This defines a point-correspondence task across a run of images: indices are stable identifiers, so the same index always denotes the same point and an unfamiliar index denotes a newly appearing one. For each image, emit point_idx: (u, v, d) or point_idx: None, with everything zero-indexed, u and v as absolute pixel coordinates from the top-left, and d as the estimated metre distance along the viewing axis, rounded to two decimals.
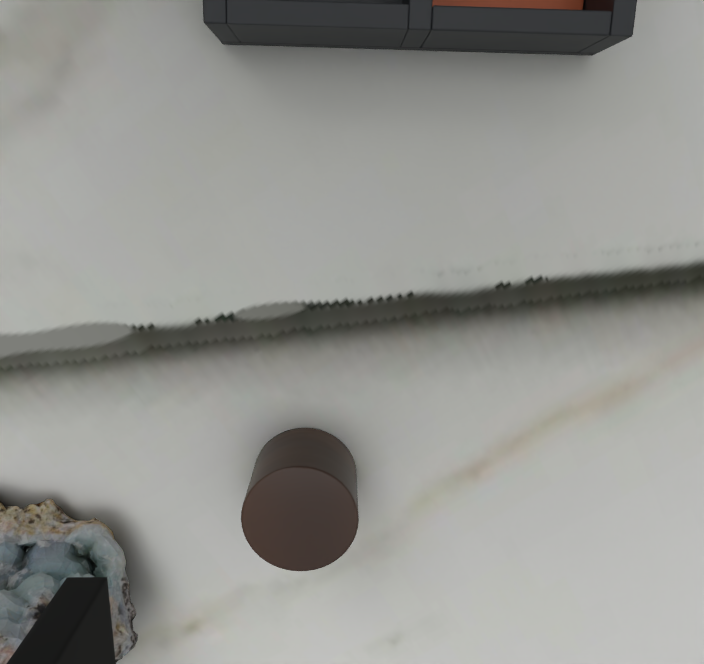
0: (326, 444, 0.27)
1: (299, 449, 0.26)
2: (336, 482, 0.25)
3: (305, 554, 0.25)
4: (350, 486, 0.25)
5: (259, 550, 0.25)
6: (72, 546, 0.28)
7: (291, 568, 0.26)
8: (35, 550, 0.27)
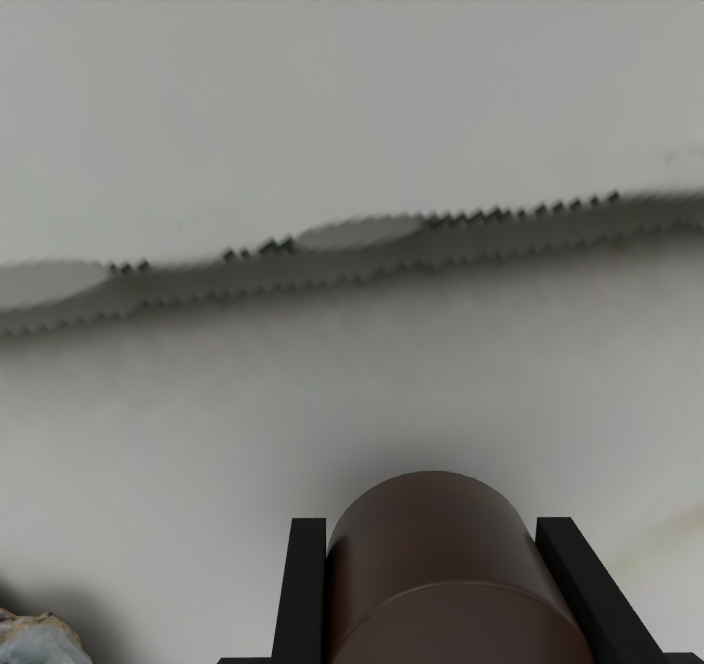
0: (489, 508, 0.13)
1: (442, 526, 0.11)
2: (554, 615, 0.10)
3: None
4: (573, 616, 0.11)
5: None
6: None
7: None
8: None
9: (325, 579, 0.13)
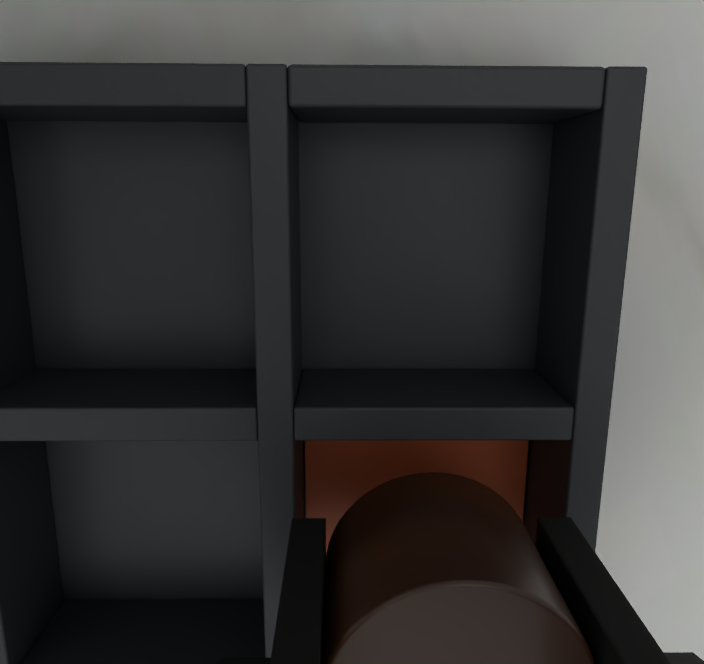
0: (489, 509, 0.13)
1: (442, 528, 0.11)
2: (554, 616, 0.10)
3: None
4: (573, 618, 0.11)
5: None
6: None
7: None
8: None
9: None
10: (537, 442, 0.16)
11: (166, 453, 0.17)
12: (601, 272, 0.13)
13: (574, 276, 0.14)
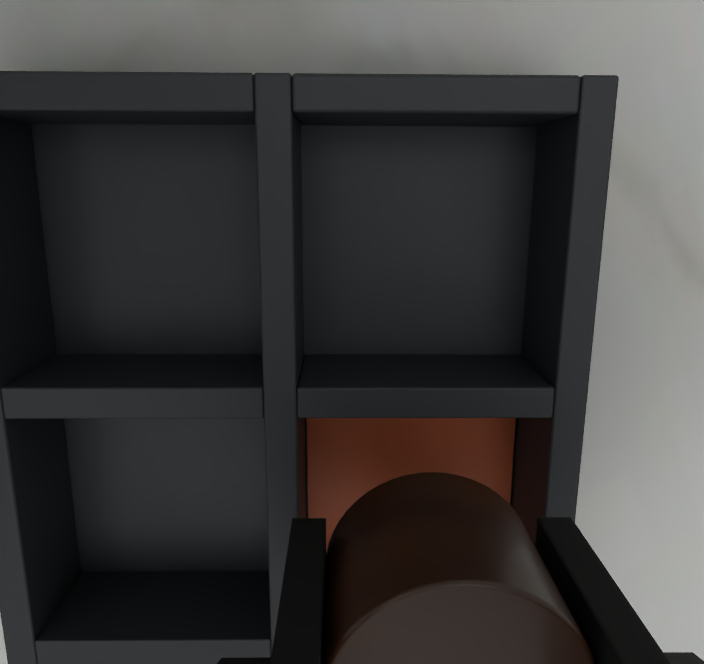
0: (489, 509, 0.13)
1: (442, 528, 0.11)
2: (554, 616, 0.10)
3: None
4: (573, 618, 0.11)
5: None
6: None
7: None
8: None
9: (325, 580, 0.13)
10: (523, 423, 0.17)
11: (177, 434, 0.18)
12: (578, 263, 0.14)
13: (555, 267, 0.15)
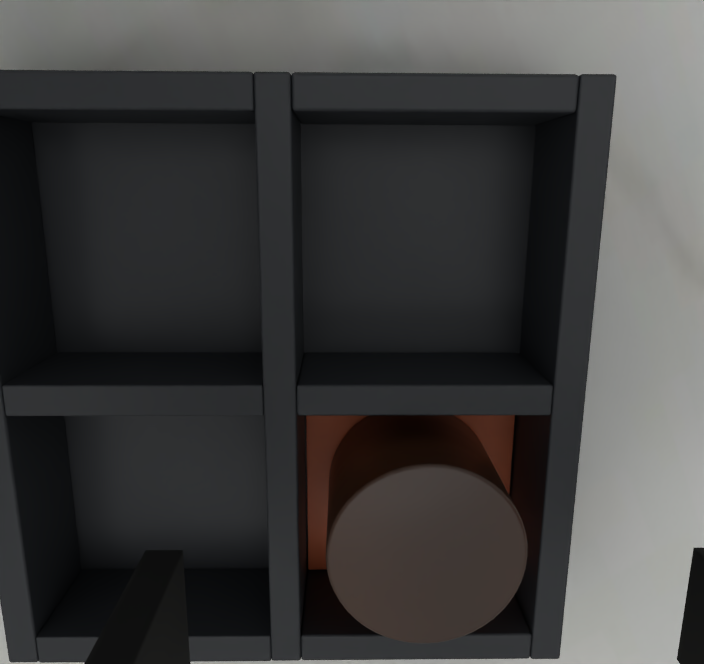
0: (453, 428, 0.17)
1: (416, 436, 0.16)
2: (493, 490, 0.14)
3: (435, 615, 0.15)
4: (510, 497, 0.15)
5: (357, 611, 0.15)
6: None
7: (410, 639, 0.15)
8: None
9: (329, 485, 0.17)
10: (522, 420, 0.17)
11: (177, 431, 0.18)
12: (576, 261, 0.14)
13: (553, 265, 0.15)
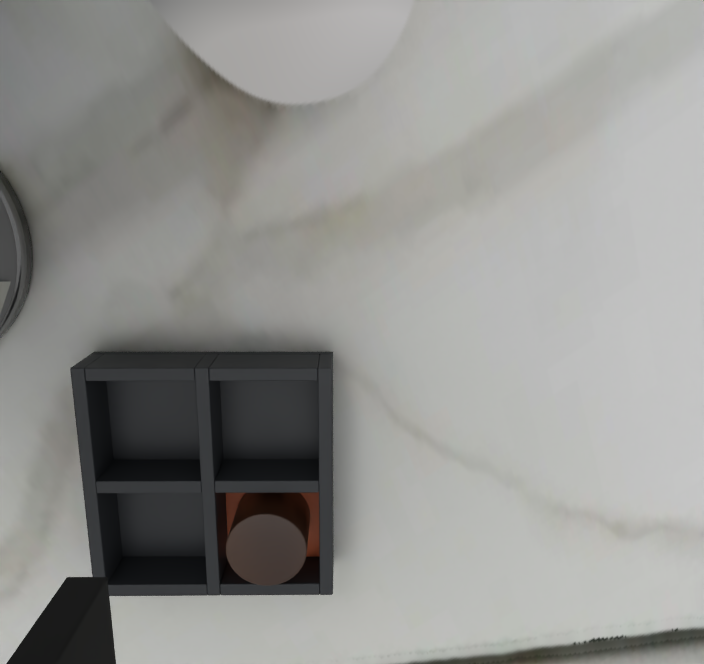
0: (286, 494, 0.38)
1: (265, 500, 0.37)
2: (290, 524, 0.36)
3: (271, 574, 0.37)
4: (301, 526, 0.37)
5: (239, 572, 0.37)
6: None
7: (261, 584, 0.37)
8: None
9: None
10: None
11: (167, 494, 0.40)
12: (323, 433, 0.36)
13: None
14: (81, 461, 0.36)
